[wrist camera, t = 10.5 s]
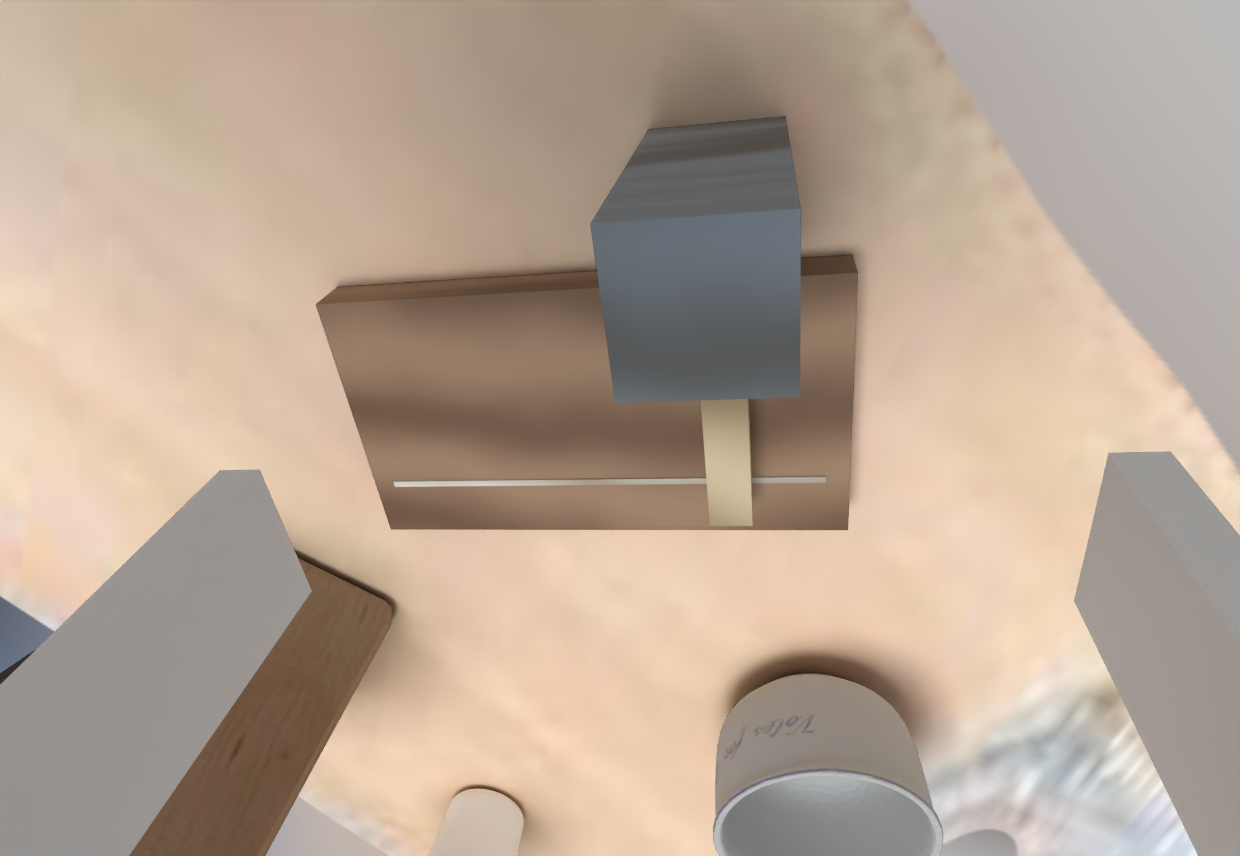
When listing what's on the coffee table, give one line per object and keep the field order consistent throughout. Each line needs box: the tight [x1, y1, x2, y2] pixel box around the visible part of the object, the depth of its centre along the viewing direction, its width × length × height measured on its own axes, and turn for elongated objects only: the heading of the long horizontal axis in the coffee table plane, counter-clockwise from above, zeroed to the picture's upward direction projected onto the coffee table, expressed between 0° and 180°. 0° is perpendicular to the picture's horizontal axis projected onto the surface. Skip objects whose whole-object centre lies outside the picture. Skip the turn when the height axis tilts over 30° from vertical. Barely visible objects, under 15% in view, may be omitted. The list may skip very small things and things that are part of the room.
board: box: [316, 255, 858, 530], centre depth 35 cm, size 12×22×2 cm, turn 97°
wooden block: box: [129, 558, 392, 856], centre depth 38 cm, size 10×10×20 cm
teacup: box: [713, 673, 943, 856], centre depth 42 cm, size 14×11×8 cm
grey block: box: [591, 116, 801, 526], centre depth 27 cm, size 16×5×12 cm, turn 7°
